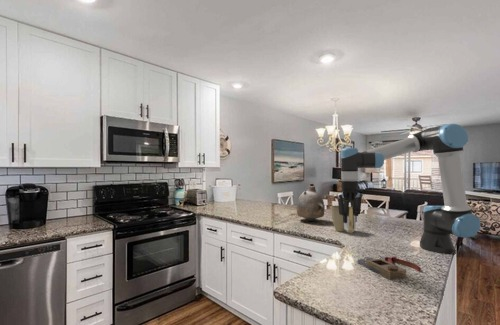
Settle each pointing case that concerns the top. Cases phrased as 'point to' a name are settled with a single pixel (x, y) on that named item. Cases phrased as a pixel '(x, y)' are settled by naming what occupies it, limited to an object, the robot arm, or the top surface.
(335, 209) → the plant pot
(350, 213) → the brass pin
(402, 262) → the pliers
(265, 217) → the top surface
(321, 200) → the jug
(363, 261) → the chain end
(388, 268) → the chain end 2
